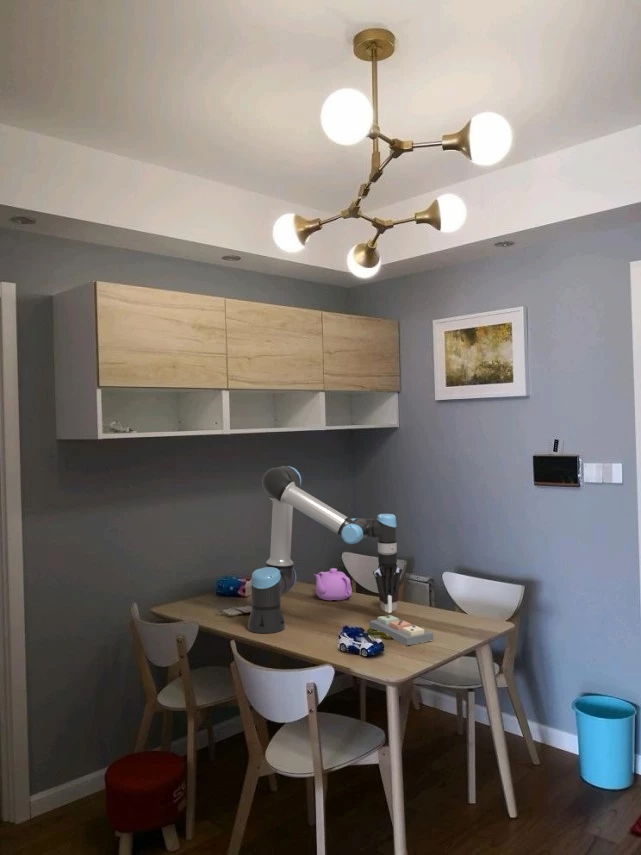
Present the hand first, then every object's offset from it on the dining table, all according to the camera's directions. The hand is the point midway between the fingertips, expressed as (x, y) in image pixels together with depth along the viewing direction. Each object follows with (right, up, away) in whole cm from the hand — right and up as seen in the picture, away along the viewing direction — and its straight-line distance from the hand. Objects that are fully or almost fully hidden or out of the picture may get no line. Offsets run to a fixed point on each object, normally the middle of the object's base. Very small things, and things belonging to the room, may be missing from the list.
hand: (388, 611), depth 274 cm
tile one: (0, -5, 0) cm, 5 cm away
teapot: (-22, -7, +49) cm, 54 cm away
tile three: (+4, -5, -7) cm, 10 cm away
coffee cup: (+3, -7, +28) cm, 29 cm away
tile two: (+8, -5, -15) cm, 18 cm away
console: (+4, -7, -7) cm, 11 cm away
